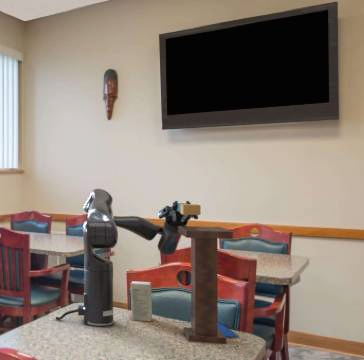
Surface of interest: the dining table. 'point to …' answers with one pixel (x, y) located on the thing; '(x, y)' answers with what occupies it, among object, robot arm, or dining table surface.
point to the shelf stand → (204, 282)
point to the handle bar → (189, 209)
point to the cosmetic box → (141, 301)
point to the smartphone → (226, 331)
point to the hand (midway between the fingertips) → (182, 203)
